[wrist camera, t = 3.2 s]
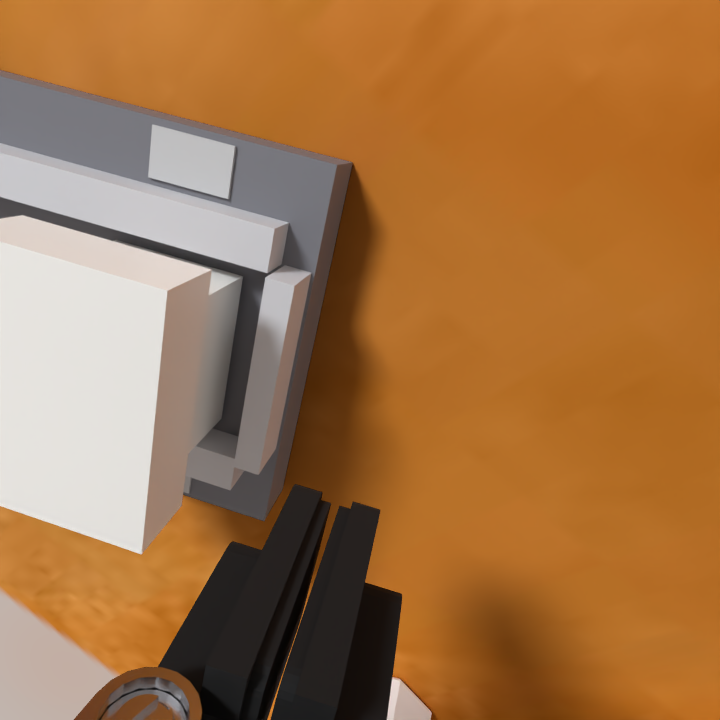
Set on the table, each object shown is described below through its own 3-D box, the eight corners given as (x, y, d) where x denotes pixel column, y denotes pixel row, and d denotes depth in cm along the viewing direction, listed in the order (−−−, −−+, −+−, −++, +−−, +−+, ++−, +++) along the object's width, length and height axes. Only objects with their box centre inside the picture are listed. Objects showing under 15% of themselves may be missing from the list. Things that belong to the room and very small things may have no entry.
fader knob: (261, 246, 16) (167, 290, 11) (228, 447, 18) (141, 554, 14) (105, 202, 16) (-51, 226, 11) (95, 405, 19) (-35, 494, 14)
